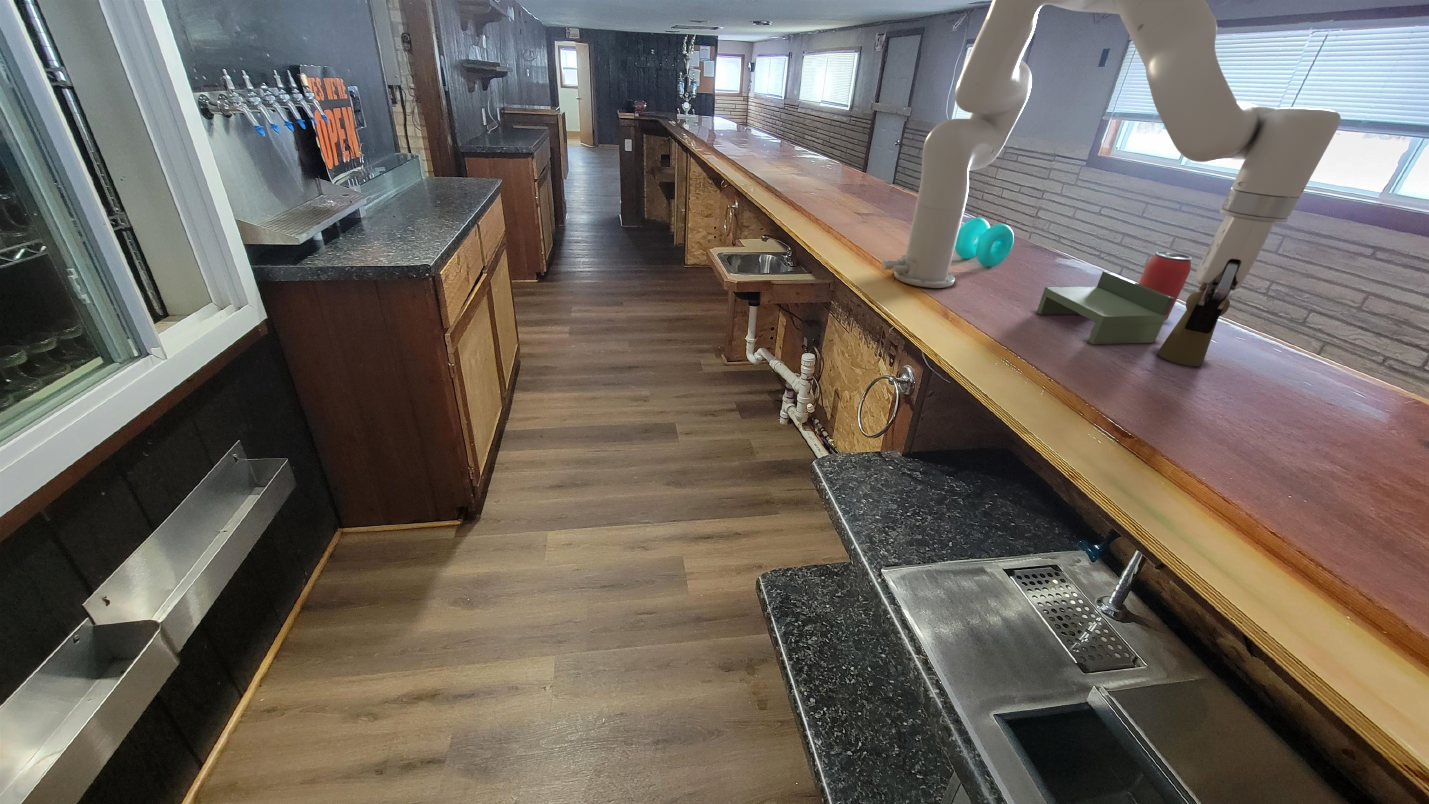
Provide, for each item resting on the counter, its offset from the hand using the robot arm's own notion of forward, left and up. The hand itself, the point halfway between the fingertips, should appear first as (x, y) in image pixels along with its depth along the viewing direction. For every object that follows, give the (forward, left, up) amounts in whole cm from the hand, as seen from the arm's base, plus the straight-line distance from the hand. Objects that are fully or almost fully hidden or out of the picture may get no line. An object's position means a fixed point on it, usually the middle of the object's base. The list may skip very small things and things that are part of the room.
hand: (1196, 324), depth 89 cm
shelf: (-5, +14, -6) cm, 16 cm away
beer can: (+10, +18, -6) cm, 21 cm away
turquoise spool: (-3, +55, -6) cm, 55 cm away
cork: (0, 0, -6) cm, 6 cm away
